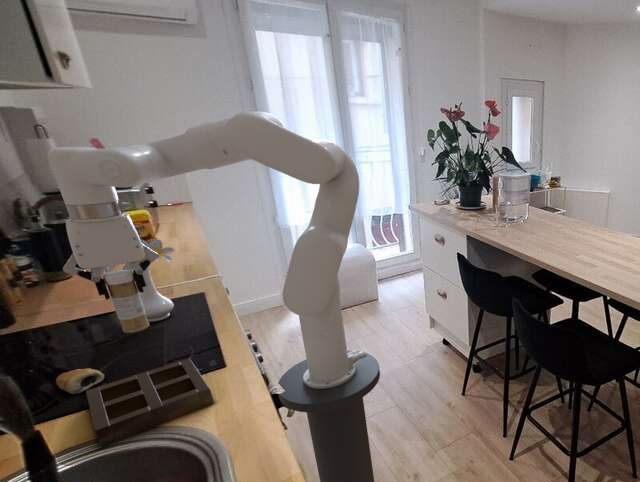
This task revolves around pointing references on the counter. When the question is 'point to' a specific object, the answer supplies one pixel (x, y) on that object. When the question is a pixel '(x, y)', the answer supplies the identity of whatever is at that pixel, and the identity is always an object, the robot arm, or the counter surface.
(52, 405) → the counter surface
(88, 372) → the pastry
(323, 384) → the robot arm
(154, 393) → the compartment tray
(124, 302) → the sprinkles bottle
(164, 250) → the flower vase
